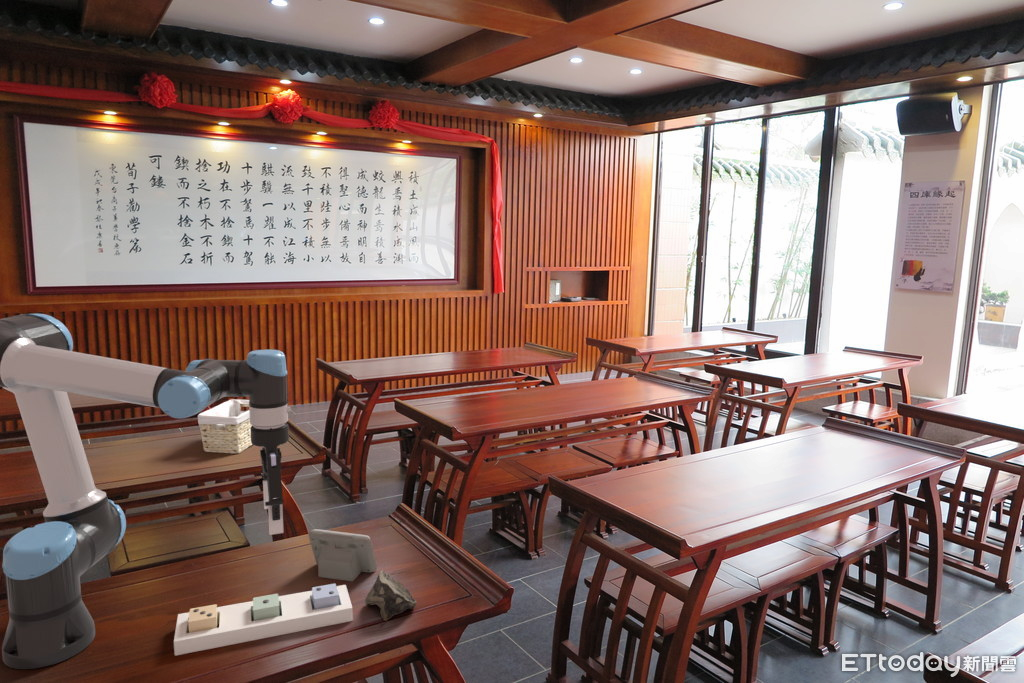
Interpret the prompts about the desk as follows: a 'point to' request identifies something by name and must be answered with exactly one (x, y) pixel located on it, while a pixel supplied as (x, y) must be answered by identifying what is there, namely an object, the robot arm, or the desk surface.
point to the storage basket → (226, 427)
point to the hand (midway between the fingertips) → (273, 520)
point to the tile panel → (261, 622)
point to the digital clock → (342, 554)
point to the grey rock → (389, 596)
